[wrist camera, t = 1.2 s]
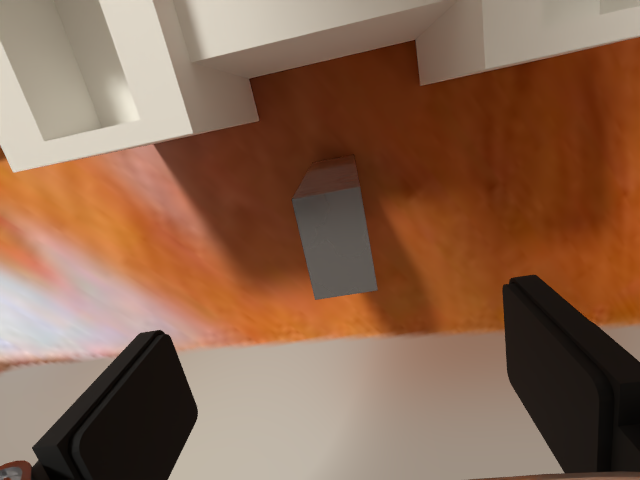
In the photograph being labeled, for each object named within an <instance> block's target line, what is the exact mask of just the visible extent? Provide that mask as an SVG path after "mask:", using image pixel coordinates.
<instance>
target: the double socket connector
mask: <svg viewBox="0 0 640 480" xmlns="http://www.w3.org/2000/svg"><path fill="white" fill-rule="evenodd" d="M637 37H640V0H0V145H1V148H2V150H3V152H4V154H5V156H6V158H7V160H8V162H9V164H10V167H11V169H12V171H13V172H18V171H23V170H28V169H33V168H38V167H43V166H48V165H53V164H58V163H63V162H68V161H73V160H77V159H82V158H87V157H92V156H97V155H102V154H107V153H112V152H117V151H122V150H127V149H132V148H137V147H141V146H146V145H151V144H156V143H161V142H165V141H170V140H174V139H179V138H184V137H188V136H193V135H197V134H202V133H207V132H211V131H216V130H220V129H225V128H229V127H234V126H239V125H243V124H248V123H252V122H257V121H259V117H258V113H257V109H256V105H255V101H254V97H253V93H252V89H251V85H250V81H249V79H250V78H254V77H258V76H262V75H267V74H271V73H275V72H280V71H284V70H288V69H292V68H297V67H301V66H305V65H310V64H314V63H318V62H322V61H327V60H331V59H335V58H339V57H344V56H348V55H352V54H357V53H361V52H365V51H369V50H374V49H378V48H382V47H387V46H391V45H395V44H399V43H404V42H408V41H412V40H415V41H416V50H417V60H418V69H419V78H420V86H422V85H427V84H432V83H436V82H441V81H445V80H450V79H454V78H459V77H464V76H468V75H473V74H477V73H482V72H487V71H491V70H496V69H500V68H505V67H510V66H514V65H519V64H523V63H528V62H533V61H537V60H542V59H546V58H551V57H555V56H559V55H564V54H568V53H572V52H577V51H581V50H585V49H590V48H594V47H598V46H603V45H607V44H611V43H616V42H620V41H624V40H628V39H633V38H637Z"/></svg>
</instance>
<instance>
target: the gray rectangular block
mask: <svg viewBox="0 0 640 480" xmlns="http://www.w3.org/2000/svg"><path fill="white" fill-rule="evenodd" d="M292 203H293V207H294V212H295V216H296V220H297V224H298V229H299V233H300V237H301V241H302V246H303V250H304V254H305V258H306V263H307V267H308V271H309V275H310V280H311V284H312V288H313V293H314V297H315V300H317V299H324V298H330V297H337V296H344V295H350V294H357V293H363V292H370V291H376V290H378V289H377V283H376V277H375V271H374V266H373V260H372V254H371V248H370V242H369V236H368V230H367V225H366V219H365V213H364V207H363V201H362V195H361V189H360V184H359V179H358V173H357V168H356V163H355V158H354V154H353V155H348V156H343V157H338V158H333V159H328V160H323V161H318V162H313V163H312V164H311V166H310V168H309V169H308V171H307V173H306V175H305V177H304V178H303V180H302V182H301V184H300V185H299V187H298V189H297V191H296V193H295V194H294V196H293V198H292Z"/></svg>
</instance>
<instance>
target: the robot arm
mask: <svg viewBox="0 0 640 480" xmlns="http://www.w3.org/2000/svg"><path fill="white" fill-rule="evenodd" d="M503 306H504V324H505V341H506V359H507V373H508V377H509V380H510V383H511V385H512V386H513V388H514V390H515V392H516V393H517V395H518V396H519V398H520V400H521V401H522V403H523V405H524V406H525V408H526V410H527V411H528V413H529V415H530V416H531V418H532V420H533V421H534V423H535V425H536V426H537V428H538V430H539V431H540V433H541V434H542V436H543V438H544V439H545V441H546V443H547V444H548V446H549V448H550V449H551V451H552V453H553V454H554V456H555V458H556V459H557V461H558V463H559V464H560V466H561V467H562V469H563V471H564V472H565V474H542V475H529V476H516V477H500V478H484V479H470V480H640V362H639V361H638V360H637V359H635V358H634V357H633V356H632V355H631V354H630V353H628V352H627V351H626V350H625V349H624V348H623V347H621V346H620V345H619V344H618V343H616V342H615V341H614V340H613V339H612V338H611V337H610V336H608V335H607V334H606V333H605V332H604V331H603V330H601V329H600V328H599V327H598V326H597V325H596V324H594V323H593V322H591V321H589V320H588V319H587V318H586V317H584V316H583V315H582V314H581V313H580V312H579V311H577V310H576V309H575V308H574V307H573V306H572V305H570V304H569V303H568V302H567V301H566V300H565V299H563V298H562V297H561V296H560V295H559V294H558V293H556V292H555V291H554V290H553V289H552V288H551V287H549V286H548V285H547V284H546V283H545V282H544V281H542V280H541V279H540V278H539V277H538V276H536V275H529V276H522V277H515V278H511V279H510V281H509V284H506V285H504V286H503ZM197 414H198V410H197V406H196V403H195V400H194V398H193V395H192V392H191V390H190V387H189V384H188V382H187V379H186V376H185V374H184V371H183V368H182V366H181V363H180V361H179V358H178V355H177V353H176V350H175V347H174V345H173V342H172V339H171V337H170V336H169V335H168V334H165V333H164V332H163V331H161V330H157V331H150V332H144V333H140V334H139V335H137V336H136V338H135V339H134V340H133V341H132V342H131V343H130V344H129V345H128V346H127V347H126V348H125V349H124V350H123V351H122V352H121V354H120V355H119V356H118V357H117V358H116V359H115V360H114V361H113V362H112V363H111V364H110V366H108V368H107V369H106V370H105V371H104V372H103V373H102V374H101V375H100V376H99V377H98V378H97V379H96V380H95V381H94V382H93V383H92V384H91V386H90V387H89V388H88V389H87V390H86V391H85V392H84V393H83V394H82V395H81V396H80V397H79V398H78V399H77V400H76V402H75V403H74V404H73V405H72V406H71V407H70V408H69V409H68V410H67V411H66V412H65V413H64V414H63V415H62V416H61V418H60V419H59V420H58V421H57V422H56V423H55V424H54V425H53V426H52V427H51V428H50V429H49V430H48V431H47V432H46V434H45V435H44V436H43V437H42V438H41V439H40V440H39V441H38V442H37V443H36V444H35V445H34V446H33V447H32V449H33V451H34V453H35V454H36V456H37V458H38V462H37V463H36V464H35V465H34V466H33V467H32V466H31V465H30V463H28V462H26V461H14V462H10V463H7V464H4V465H2V466H0V480H168V478H169V476H170V474H171V472H172V470H173V468H174V465H175V463H176V461H177V459H178V457H179V455H180V453H181V451H182V449H183V447H184V445H185V443H186V441H187V439H188V437H189V435H190V433H191V430H192V429H193V426H194V424H195V422H196V420H197V416H198V415H197Z"/></svg>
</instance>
